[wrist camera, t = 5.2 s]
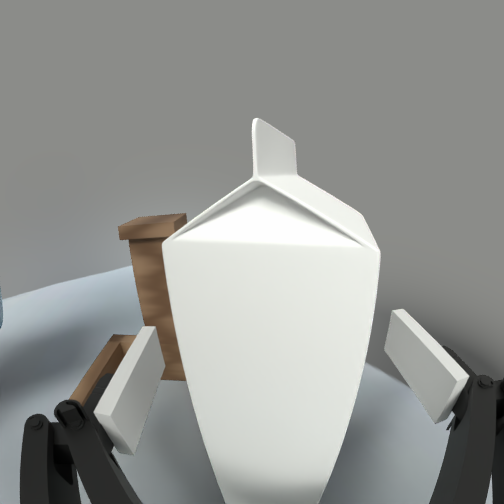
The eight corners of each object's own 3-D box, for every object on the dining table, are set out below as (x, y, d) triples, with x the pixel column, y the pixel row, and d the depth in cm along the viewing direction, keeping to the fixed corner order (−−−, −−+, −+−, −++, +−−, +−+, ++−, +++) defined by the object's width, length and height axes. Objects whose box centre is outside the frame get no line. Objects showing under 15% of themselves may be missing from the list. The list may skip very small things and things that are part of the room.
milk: (324, 462, 16) (365, 142, 11) (309, 524, 11) (388, 112, 5) (250, 450, 18) (232, 145, 12) (223, 507, 13) (151, 130, 7)
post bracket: (86, 445, 17) (3, 265, 12) (132, 354, 32) (103, 221, 27) (240, 464, 17) (212, 254, 12) (240, 355, 32) (229, 210, 27)
